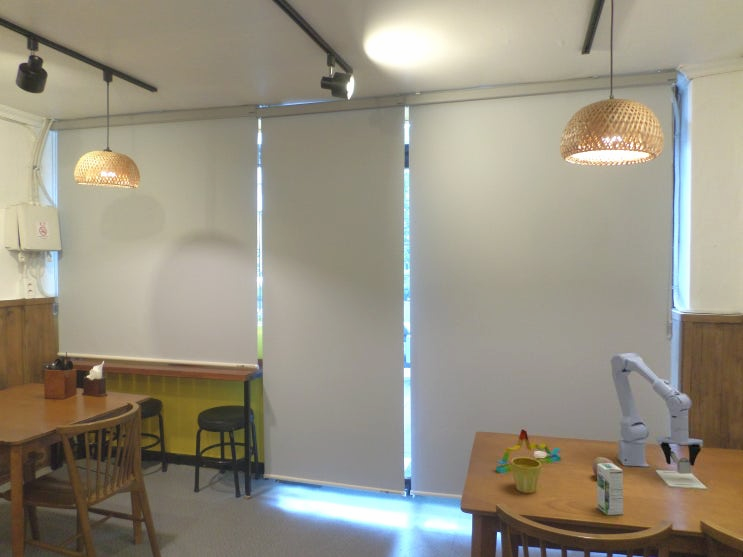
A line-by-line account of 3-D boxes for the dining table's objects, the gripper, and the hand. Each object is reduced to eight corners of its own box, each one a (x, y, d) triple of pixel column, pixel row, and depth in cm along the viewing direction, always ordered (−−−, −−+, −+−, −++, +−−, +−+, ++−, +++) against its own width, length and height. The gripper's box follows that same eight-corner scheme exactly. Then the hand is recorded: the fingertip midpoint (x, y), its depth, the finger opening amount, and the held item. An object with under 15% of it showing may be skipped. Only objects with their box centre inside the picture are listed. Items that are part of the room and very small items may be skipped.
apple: (618, 484, 178) (617, 462, 178) (595, 482, 180) (595, 461, 180) (612, 475, 186) (611, 454, 186) (590, 474, 187) (590, 453, 187)
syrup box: (596, 507, 161) (595, 463, 161) (613, 506, 161) (613, 462, 161) (606, 515, 155) (605, 470, 155) (624, 514, 156) (623, 469, 156)
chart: (555, 458, 205) (554, 422, 205) (560, 461, 202) (560, 424, 202) (495, 471, 193) (495, 433, 193) (500, 474, 190) (500, 435, 190)
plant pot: (541, 485, 179) (541, 458, 179) (541, 497, 169) (541, 469, 169) (512, 481, 182) (511, 455, 182) (510, 493, 172) (509, 465, 172)
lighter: (688, 471, 182) (687, 450, 182) (691, 473, 180) (690, 451, 180) (668, 472, 182) (668, 450, 182) (671, 473, 180) (671, 452, 180)
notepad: (669, 486, 175) (669, 485, 175) (655, 471, 189) (655, 470, 189) (706, 489, 173) (706, 487, 173) (690, 473, 186) (690, 472, 186)
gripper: (661, 429, 178) (662, 466, 178) (706, 431, 175) (706, 469, 175) (654, 423, 185) (655, 459, 185) (697, 425, 182) (698, 462, 182)
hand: (679, 464), depth 181 cm, fingers closed on lighter, 7 cm apart
